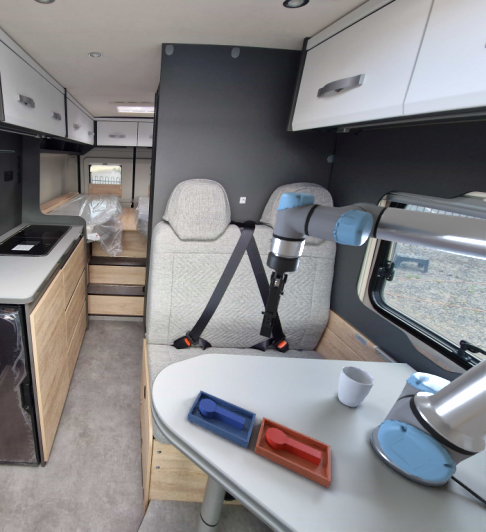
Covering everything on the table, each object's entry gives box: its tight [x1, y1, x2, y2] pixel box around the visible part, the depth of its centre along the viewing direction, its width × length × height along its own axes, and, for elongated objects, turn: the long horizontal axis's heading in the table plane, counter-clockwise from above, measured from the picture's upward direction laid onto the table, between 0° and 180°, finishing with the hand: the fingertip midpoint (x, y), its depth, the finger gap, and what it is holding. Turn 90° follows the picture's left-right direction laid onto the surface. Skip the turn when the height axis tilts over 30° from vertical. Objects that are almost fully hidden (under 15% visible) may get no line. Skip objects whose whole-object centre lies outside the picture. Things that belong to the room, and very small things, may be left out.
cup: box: [337, 365, 376, 408], centre depth 93 cm, size 8×8×10 cm
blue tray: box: [186, 390, 257, 449], centre depth 86 cm, size 16×11×2 cm, turn 59°
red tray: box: [254, 416, 332, 489], centre depth 78 cm, size 16×11×2 cm, turn 59°
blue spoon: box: [199, 399, 245, 430], centre depth 86 cm, size 12×5×2 cm, turn 59°
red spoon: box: [265, 428, 321, 466], centre depth 77 cm, size 12×5×2 cm, turn 59°
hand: (268, 324), depth 87 cm, fingers open, 13 cm apart
